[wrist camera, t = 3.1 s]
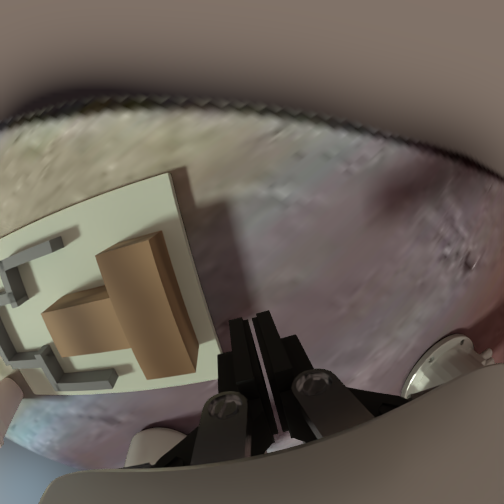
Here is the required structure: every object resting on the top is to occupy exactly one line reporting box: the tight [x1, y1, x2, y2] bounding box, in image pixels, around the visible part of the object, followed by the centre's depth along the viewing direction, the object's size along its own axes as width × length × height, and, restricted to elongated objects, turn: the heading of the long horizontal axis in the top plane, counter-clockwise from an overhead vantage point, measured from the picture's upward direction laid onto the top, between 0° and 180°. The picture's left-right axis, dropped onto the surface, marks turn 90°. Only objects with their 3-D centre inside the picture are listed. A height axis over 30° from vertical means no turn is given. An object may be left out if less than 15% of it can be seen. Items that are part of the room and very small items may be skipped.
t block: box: [41, 230, 199, 380], centre depth 19 cm, size 11×10×4 cm
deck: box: [0, 173, 223, 395], centre depth 21 cm, size 25×18×3 cm
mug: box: [124, 428, 187, 467], centre depth 22 cm, size 12×9×11 cm
